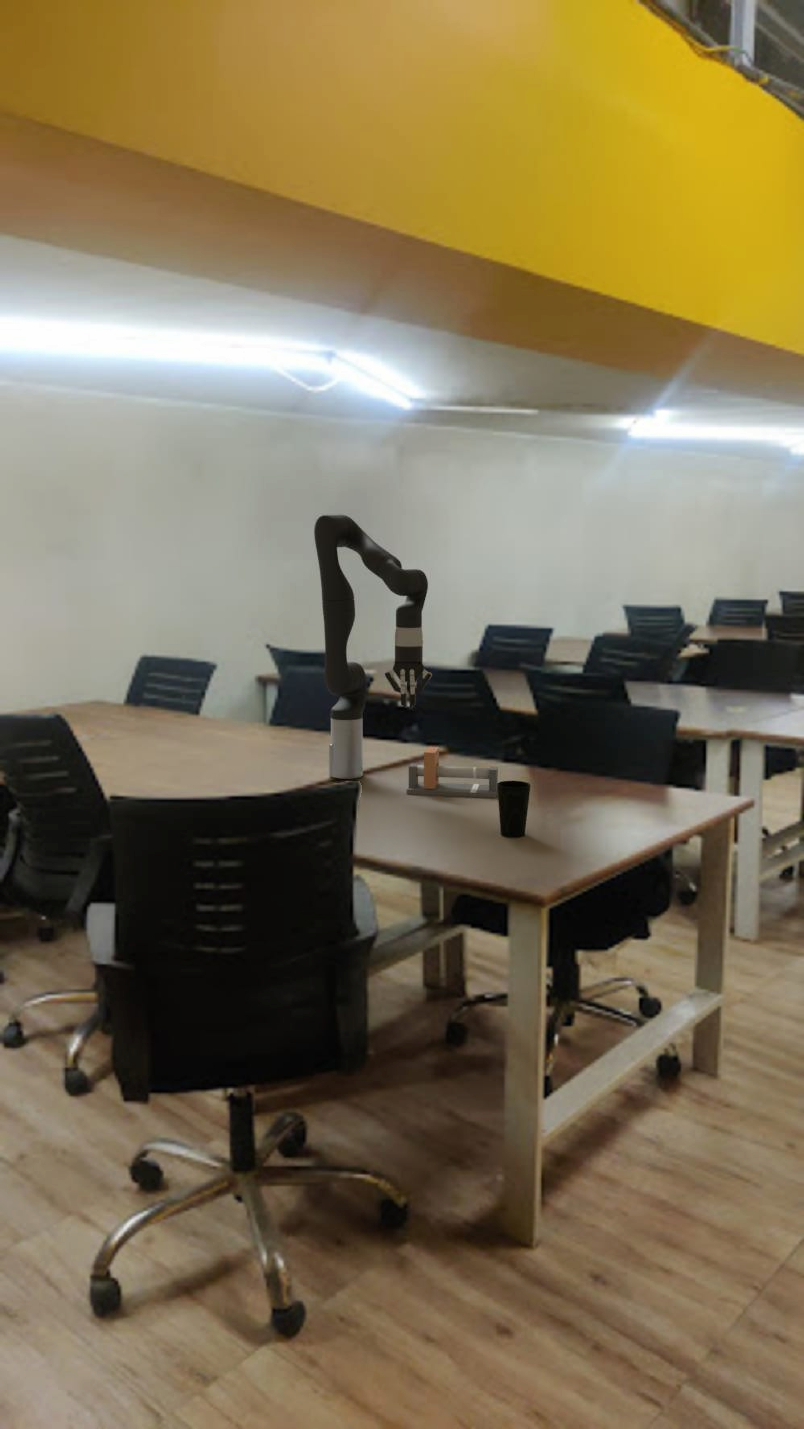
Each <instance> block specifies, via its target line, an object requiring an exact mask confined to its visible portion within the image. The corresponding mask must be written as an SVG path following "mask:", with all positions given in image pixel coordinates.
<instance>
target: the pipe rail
mask: <svg viewBox="0 0 804 1429" xmlns="http://www.w3.org/2000/svg"><path fill="white" fill-rule="evenodd" d="M498 770H499V767H498V766H489V767H477V766H473V767H472V766H471V767H470V766H450V765H449V766H447V765H439V766H436V777H439V778H452V779H454V778H455V779H456V778H457V779H474V780H477V779H479V780H488V784H480V783H451V782H449V783H448V782H439V783H438V785H437V786H436V788H435V789H424V781H419V777H424V764H423V765H422V764H421V765H419V763H410V764H409V765H408V787H407V789H406V795H420V796H421V795H422V796H444V797H465V798H466V797H467V798H468V797H469V798H488V799H489V798H490V799H491V798H492V799H495V798H496V797H497V796H498V789H497V784H498V783H499V782H498V779H499V777H498V774H499V772H498Z"/></svg>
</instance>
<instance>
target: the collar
mask: <svg viewBox="0 0 804 1429" xmlns="http://www.w3.org/2000/svg"><path fill="white" fill-rule="evenodd" d="M423 765H424V776H423V782H424V789H435V788H436V786H437V785H438V783H440V777H436V766H440V746H428V747H427V748H426V749H425V750H424V751H423Z"/></svg>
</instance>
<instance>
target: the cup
mask: <svg viewBox="0 0 804 1429" xmlns="http://www.w3.org/2000/svg"><path fill="white" fill-rule="evenodd" d="M531 787H532V786H531V784H530V782H527V781H522V780H502V781H499V782H498V784H497V789H498V792H497V797H498V798H497V799H498V813H499V824H500V825H499V826H500V835H501V836H502V837H505V838H510V839H512V838H513V839H518V838H523V837H525V835H526V827H527V817H528V810H529V803H530V802H529V801H530V792H531Z"/></svg>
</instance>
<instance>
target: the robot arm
mask: <svg viewBox="0 0 804 1429" xmlns="http://www.w3.org/2000/svg"><path fill="white" fill-rule="evenodd" d="M313 535H314V544H315V549H316V556H317V560H318V566H319V567H318V568H319V576H320V577H319V578H320V585H321V586H320V587H321V588H320V589H321V601H322V602H321V603H322V604H321V605H322V616H323V626H324V627H323V629H324V648H325V649H324V683H325V686H326V688H327V690H328V692H329V693H330V694H331V695H333V696H335V697H339V698H338V701H337V702H336V704H334V706H332V707H331V709H330V744H328V763H329V764H328V769H329V770H328V776H329V777H330V778H336V779H340V780H341V779H342V780H343V779H345V780H347V779H350V780H351V779H358V778H362V777H363V774H364V773H363V772H364V770H363V769H364V767H363V766H364V765H363V764H364V761H363V760H364V759H363V749H364V748H363V744H364V743H363V742H364V741H363V740H364V739H363V737H364V735H363V713H364V710H365V707H366V701H367V700H366V697H367V696H366V695H367V676H366V671H365V669H364V667H363V666H362V665H361V664H359V663H358V662H355V661H349V662H348V657H347V655H348V654H347V650H348V649H347V648H348V642H349V638H350V635H351V632H352V629H353V627H354V623H355V619H356V603H355V593H354V591H353V588H352V586H351V583H349V581H348V578H347V577H346V576H345V574H344V572H343V570H342V568H341V566H340V561H339V554H338V548H347V549H350V550H352V551H353V552H356V553H357V554H358V555H359V556H360V559H361V560H362V563H363V565H364V567H366V568H367V569H368V570H369V571H370V572H371V573H372V574H374V575H375V576H376V577H378V578H379V579H381V580H382V581H383V583H384V584H385V586H386V587H387V588H388V589H389V591H390V592H391V593H393V594H394V595H397V596H400V597H406V598H405V601H404V603H403V604H401V605H398V606H397V607H396V610H395V632H394V665H392V666H393V667H392V669H391V670H389V671H387V672H385V673H384V676H385V678H386V679H387V681H388V683H389V684H390V686H391V688H392V689H393V690H394V692H397V693H399V694H400V705H401V706H402V708H403V709H406V708H407V707H408V693H407V691H408V690H407V686H408V685H407V684H408V682H409V685H410V688H409V689H410V694H409V708H410V709H413V708H414V706H416V701H417V693H421V692H422V691H423V690H424V689H425V687H426V685H427V684H428V683H429V682H430V679H431V678H432V677H433V673H432V672H429V671H427V670H426V669H425V666H424V664H423V662H424V660H423V657H424V656H423V651H424V650H423V649H424V648H423V644H424V640H423V638H424V637H423V635H424V633H423V626H422V624H423V614H422V613H423V610H424V607H425V602H426V598H427V594H428V590H429V589H428V588H429V582H428V577H427V575H426V573H425V572H424V571H422V569H421V570H420V569H417V568H416V569H415V568H412V569H405V568H403V567H402V561H400V559H398V558H397V557H396V556H395V555H393V554H392V553H390V552H389V551H387V550H386V549H384V547H382V546H380V545H379V544H378V543H376V541H374V539H372V538H371V537H370V535H368V534H367V533H366V532H365V531H364V530H363V529H362V528H361V527H360V526H359V524H358V523H356V522H355V520H354V519H353V518H351V517H350V516H348V515H345V514H329V513H327V514H321V515H319V516H318V517H317V518H316V520H315V523H314V528H313ZM421 675H422V681H421V683H420V684H419V685H418V687H417V680H418V679H419V677H420V676H421ZM395 676H396V677H397V678H398V679H399V681H400V682H399V683H400V686H399V684H398V682H397V680H396V679H395Z"/></svg>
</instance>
